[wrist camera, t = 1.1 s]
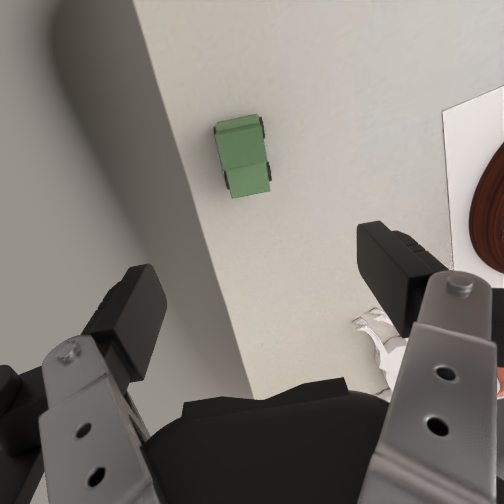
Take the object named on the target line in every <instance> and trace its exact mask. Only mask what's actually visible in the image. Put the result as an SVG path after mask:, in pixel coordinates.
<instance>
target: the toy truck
mask: <svg viewBox="0 0 504 504" xmlns="http://www.w3.org/2000/svg"><path fill="white" fill-rule="evenodd" d="M214 135H215V140H216V144H217V148H218V152H219V157H220V161H221V165H222V169H223V171H224V170H225V171H224V177H225V182H226V186H227V189H228V190H229V189H230V192H231V197H232V198H237V197H243V196H248V195H253V194H258V193H263V192H268V191H270V185H269V181H272V178H271V171H270V166H269V162H267V158H266V152H265V146H264V140H263V139H264V138H265V133H264V126H263V121H262V117H258V116H257V114H254V115H249V116H245V117H240V118H235V119H231V120H226V121H221V122H217V124H216V125H215V127H214Z"/></svg>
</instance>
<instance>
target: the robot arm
mask: <svg viewBox="0 0 504 504" xmlns="http://www.w3.org/2000/svg"><path fill="white" fill-rule="evenodd" d="M357 264H358V269H359V272H360V274H361V276H362V278H363V279H364V281H365V282H366V284H367V285H368V287H369V288H370V290H371V291H372V293H373V294H374V296H375V297H376V299H377V300H378V302H379V304H380V305H381V307H382V308H383V310H384V311H385V313H386V314H387V316H388V317H389V319H390V320H391V322H392V323H393V325H394V326H395V328H396V329H397V331H398V333H399V334H400V336H401V337H402V339H404V338H409V339H408V342H407V346H406V349H405V352H404V356H403V359H402V363H401V366H400V369H399V373H398V376H397V380H396V383H395V386H394V390H393V393H392V397H391V400H390V402H388V401H386V400H383V399H381V398H379V397H376V396H373V395H370V394H367V393H363V392H358V391H351V390H348V388H347V385H346V382H345V380H344V377H342V378H335V379H329V380H323V381H316V382H310V383H304V384H301V385H299V386H296V387H294V388H292V389H289V390H287V391H285V392H282V393H280V394H277V395H275V396H273V397H270V398H268V399H265V400H253V399H243V398H232V397H216V398H210V399H203V400H197V401H191V402H184V405H183V411H182V416H181V417H180V418H178V419H176V420H174V421H173V422H171V423H169V424H167V425H166V426H164V427H163V428H162V429H160V430H159V431H157V432H156V433H155V434H154V435H153V436H150V434H149V432H148V430H147V429H146V426H145V424H144V422H143V421H142V418H141V416H140V414H139V412H138V410H137V408H136V407H135V405H134V402H133V400H132V398H131V396H130V395H129V393H128V392H127V387H128V385H129V383H131V382H137V381H143V380H144V378H145V374H146V372H147V368H148V365H149V362H150V359H151V356H152V353H153V350H154V347H155V344H156V340H157V337H158V335H159V331H160V328H161V325H162V322H163V319H164V316H165V313H166V310H167V300H166V295H165V293H164V291H163V288H162V286H161V284H160V281H159V279H158V277H157V274H156V272H155V270H154V268H153V266H152V265H151V264H144V265H138V266H133V267H130V268H129V269H128V270H127V272H126V274H125V275H124V277H123V279H122V280H121V281H120V282H118V283H117V284H116V285H115V286H114V287H112V288H111V289H110V290H109V291H108V293H107V294H106V296H105V297H104V299H103V302H101V303H100V305H99V307H98V310H96V311H95V313H94V315H93V316H92V317H91V319H90V321H89V322H88V324H87V325H86V327H85V328H84V330H83V332H82V333H81V335H78V336H75V337H72V338H69V339H67V340H65V341H64V342H62V343H60V344H59V345H58V346H56V347H55V348H54V349H53V350H52V351H51V352H50V353H49V354H48V355H47V356H46V358H45V359H44V361H43V363H42V366H40V367H37V368H35V369H33V370H30V371H27V372H25V373H22V374H20V375H18V374H17V373H16V372H15V371H14V370H13V369H12V368H11V367H10V366H8V365H0V504H30V501H31V499H32V497H33V495H34V493H35V490H36V489H37V486H38V484H39V482H40V480H41V478H42V475H43V473H44V471H45V477H46V485H47V493H48V500H49V504H504V480H502V479H501V478H499V477H498V476H496V451H497V449H496V448H497V447H496V446H497V367H501V368H504V288H491V286H490V284H489V283H488V282H487V281H485V280H484V279H483V278H481V277H479V276H477V275H474V274H472V273H468V272H464V271H457V270H449V269H448V268H446V267H445V266H444V265H443V264H442V263H441V262H439V261H438V260H437V259H436V258H435V257H434V256H432V255H431V254H430V253H429V252H428V251H425V249H424V248H423V247H422V246H421V245H418V243H417V242H416V241H415V240H414V239H413V238H412V237H410V236H409V235H407V234H404V233H402V232H399V231H397V230H396V231H391V230H389V229H388V228H387V227H386V226H385V225H384V224H383V223H382V222H381V221H373V222H368V223H363V224H359V225H358V226H357Z"/></svg>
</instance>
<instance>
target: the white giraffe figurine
mask: <svg viewBox="0 0 504 504" xmlns="http://www.w3.org/2000/svg"><path fill="white" fill-rule="evenodd" d="M369 313H372V314H379V315H378V316H376V317H375V318H373V320H378V321H384V322H386V323H388V324H390V325H392V326H394V325H393V323H392V322H391V320H390V319H389V317H388V316H387V314H386V313H385V312H383V311H382V310H378V309H377V308H375V309H373V310H371V311H370V312H369ZM353 323H354V324H361V326H359V327H358V328H356V329H357V331H365V332H367V333H368V334H369V335H370V336H371V337H372V339H373V340H374V342H375V351H376V353H375V360H376V362H377V364H378V366H379V368H381V369H382V373H383V375H384V377H385V379H386V381H387V383H388V385H389V389H388V390H384V391H383V392H382V394H380V395H378V396H376V397H379V398H381V399H383V400H386V401H388V402H390V400H391V397H392V393H393V390H394V386H395V383H396V380H397V376H398V373H399V369H400V366H401V363H402V359H403V356H404V352H405V349H406V346H407V342H408V339H409V338H404V339H402V337H401V336H400V337H394V338H390V339H389V340H388V341H387V342H386V343H385V344H384V345H383V344H382V342H381V340H380V338H379V337H378V336H377V335H376V334H375V333H374V332H373V331H372V329H371V328H370V327H369V325H368V324H367V322H366V321H364V320H362V318H361V317H360V318H358V319H356V320H355V321H353ZM394 327H395V326H394Z"/></svg>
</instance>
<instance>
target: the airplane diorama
mask: <svg viewBox="0 0 504 504" xmlns="http://www.w3.org/2000/svg"><path fill="white" fill-rule="evenodd" d="M443 123H444V137H445V151H446V165H447V179H448V193H449V207H450V221H451V235H452V249H453V263H454V270H457V271H464V272H468V273H472V274H474V275H477V276H479V277H481V278H483V279H484V280H485V281H487V282H488V283H489V284H490V286H491V288H504V86H502V87H500V88H498V89H495V90H493V91H490V92H488V93H486V94H483V95H481V96H478V97H476V98H474V99H471V100H469V101H467V102H464V103H462V104H459V105H457V106H455V107H452V108H450V109H447V110H445V111H443Z"/></svg>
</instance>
